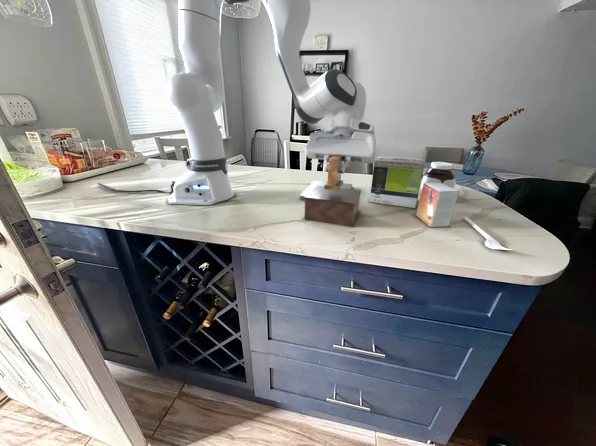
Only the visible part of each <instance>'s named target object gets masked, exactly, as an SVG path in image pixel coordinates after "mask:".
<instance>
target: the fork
mask: <svg viewBox="0 0 596 446" xmlns="http://www.w3.org/2000/svg"><path fill="white" fill-rule="evenodd" d="M463 219H464V221H466V222H467V223H468V224H469V225H471V226H472V227H473V228H474V229H475V230H476V231H477V232H478V233H479V234H481V235H482V236H483V237H484V238H485V241H484V245H485V246H486V247H487V248H489V249H493V250H502V251H513V250H514V249H510V248H507V247H504V246H502V244H501V243H500V242H498V241H497V240H496V239H494V237H492V236H491V235H490V234H489V233H487V232H486V231H485V230H484V229H483V228H481V227H480V226H478V224H476V223H475V222H474V221H473V220H471V219H470V218H469V217H467V216H464V217H463Z"/></svg>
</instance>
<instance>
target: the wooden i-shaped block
mask: <svg viewBox="0 0 596 446" xmlns="http://www.w3.org/2000/svg"><path fill="white" fill-rule="evenodd" d="M328 164H329V167H328V172H327V181H326V182H327V183H326V184H325V185H324V189H327V190H335V191H338V190H339V189H340V188H341V186H342V185H343V183H344V180H343V179H342V173H339V167H340V165H343V164H344V161H343V156H338V155H334V156H332V157H331V158H330V159H329V163H328Z"/></svg>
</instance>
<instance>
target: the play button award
mask: <svg viewBox="0 0 596 446" xmlns="http://www.w3.org/2000/svg"><path fill="white" fill-rule="evenodd" d="M327 182H328V181H324V180H323V181H321V180H313V181H312V182H311V183H310V185H309V186H308V187H307V188H306V189H304V190H303V192H302V193H301V194H300V200H304V201H305V199H304V197H305V196H306V195H307V194H308V193H309V192H310V191H311V190H312V189H313V188H315V187H316V186H317V185H319V186H324V185H325V184H326V183H327ZM341 188H345V189H353V183H346V182H345V183H344V182H343V185H342V186H341Z"/></svg>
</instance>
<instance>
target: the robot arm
mask: <svg viewBox="0 0 596 446" xmlns="http://www.w3.org/2000/svg"><path fill="white" fill-rule="evenodd" d="M251 1H252V0H177V16H178V17H177V28H178V30H177V31H178V34H177V35H178V37H177V39H178V48H179V50H180V52H181V55H182V59H183V62H184V68H185V71H182V72H178V73H175V74H173V75H170V77H169V78H168V80H167V82H166V85H165V93H166V97H167V100H168V101H169V103H170V104H171V105H172V106H173V108H174V109H175V110H176V112H177V115H178V117H179V119H180V121H181V123H182V126H183V129H184V131H185V135H186V138H187V144H188V147H189V154H190V157H188V159H187V160H186V161H185V163H184V164H185V167H186V168H187V170H186V171H185V172H183V174H182V175H180V176H179V177H178V178H176V179H174V180H171V184H170V190H171V191H169V192H168V191H163V190H161V189H140V190H138V189H137V190H125V189H124V190H123V189H115V188H111V187H109V186H107V185H105V184H103V183H101V182H97V185H99V186H100V187H102V188H104V189H108V190H110V191H112V192H118V193H149V192H158V193H161V194H170V196H168V198H167V200H168V204H170V205H189V206H190V205H191V206H195V205H196V206H212V205H215V204H217V203H221V202H224V201H227V200H230V199H232V198H233V197H234V196H235V193H234V190H233V188H232V185H231V181H230V178H229V166H228V160H227V156H226V154H225V146H224V140H223V138H224V137H223V134H222V131H221V129H220V127H219V124H218V122H217V121H218V120H217V117H216V116H215V113H216V112H217V111H218V110H220V109H221V107H222V106H223V104H224V101H225V95H224V90H223V82H222V71H221V60H220V59H221V58H220V51H221V50H220V49H221V26H222V25H221V24H222V8H223V4H224V2H225V3H227V4H228V5H234V4H238V3H241V4H243V3H244V4H245V3H249V2H251ZM261 2H262V3H263V5H264V8H265V10H266V11H267V14H268V16H269V19H270V22H271V25H272V31H273V35H274V48H275V52H276V56H277V58H278V61H279V64H280V66H281V69H282V71H283V75H284V77H285V79H286V82H287V85H288V87H289V90H290V93H291V95H292V100H293V103H294V108H295V111H296V114H297V116H298V117H299V118H300V119H301V120H302V121H303V122H305V123H307V124H310V125H315V124H318V123H319V122H320V121H321V120H323V119H324V118H325V117H326V116H327V115H329V114H330V113H331V114H332V115H333V116H332V120H331V124H330V127H329V130H317V129H316V130H315V131H313V132H311V133H310V134H309V136H308V141H307V143H306V145H305V148H304V153H305V156H306V157H307V159H312V160H323V162H324V173H328V167H329V159H330V158H331V157H332V156H334V155H338V156H343V163H342V165H340V167H339V173H341V175H342V174H345V172H346V170H347V168H349V167H350V166H351V164H352V163H358V164H359V163H360V164H361V163H362V164H373V163H374V162H375V160H376V147H377V145H376V143H377V141H376V136H375V135H376V133H375V125H374V124H372V123H368V122H365V121H362V119H363V118H364V115H365V111H366V106H367V93H366V89H365V87H364V86H363V85H362V84H361V83H360V82H358V81H356V80H355V81H354V80H352V78H351V77H350V76H349V75H348V74H347V73H345V72H344V71H342V70H339V69H336V68H330V69H328V70H327V71H326V72H324V73H323V74H322V75H321V76H320V77H318V78H317V79H316V81H314V82H313V83H312V84H311V85H309V82H308V80H307V77H306V74H305V72H304V69H303V66H302V63H301V59H300V58H301V57H300V51H301V45H302V42H303V39H304V36H305V33H306V30H307V28H308V26H309V23H310V20H311V19H310V18H311V13H312V12H311V11H312V3H311V0H261Z"/></svg>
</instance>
